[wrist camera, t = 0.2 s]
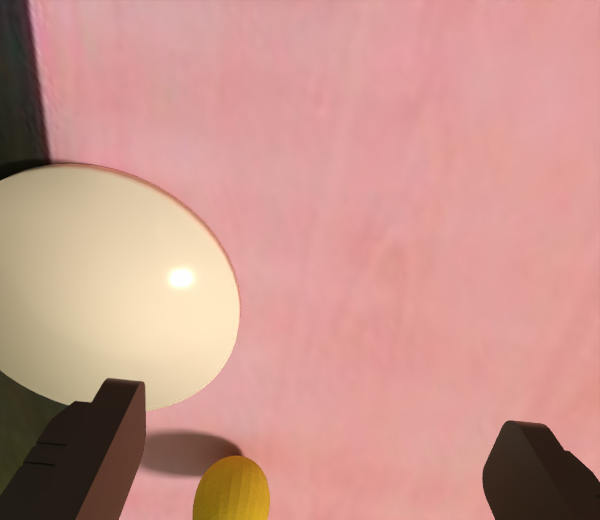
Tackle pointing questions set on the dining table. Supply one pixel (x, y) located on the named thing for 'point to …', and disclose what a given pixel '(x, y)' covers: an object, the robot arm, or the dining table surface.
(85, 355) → the saucer
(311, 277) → the dining table surface
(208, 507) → the lemon
